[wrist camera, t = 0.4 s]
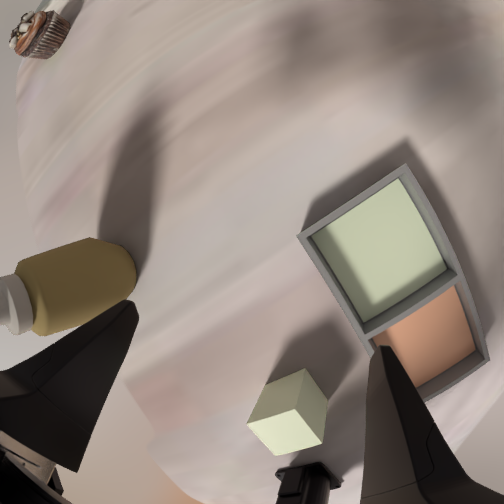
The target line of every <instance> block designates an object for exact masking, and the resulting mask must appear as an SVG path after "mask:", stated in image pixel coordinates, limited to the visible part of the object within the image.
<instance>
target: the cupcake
mask: <svg viewBox="0 0 504 504" xmlns="http://www.w3.org/2000/svg"><path fill="white" fill-rule="evenodd" d="M69 29H70V24H69V23H68V22H67V21H66V20H65V19H63V18H62V17H61V16H60V15H58V14H57V13H56V12H55V11H54V10H53V11H49V12H44V11H39V12H37V13H36V14H34V12H33V11H30V12H29V13H26V14H24V15H23V16H22V17H21V22H20V24H19V25H18V27H17V28H15V29H14V30H12V33H11V39H10V41H9V42H10V46H9V47H10V48H14V49H15V52H16V53H17V54H18V55H21V56H23V57H24V58H39V59H48V58H50V57H51V56H52V55H54V54H55V52H56V51H57V50H58V49H59V48H60V46H61V45H62V43H63V42H64V40H65V38H66V36H67V34H68V32H69Z"/></svg>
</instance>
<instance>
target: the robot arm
mask: <svg viewBox="0 0 504 504" xmlns="http://www.w3.org/2000/svg"><path fill="white" fill-rule="evenodd" d="M138 321H139V314H138V312H137V309H136V306H135V303H134V302H133V301H130V300H126V299H124V300H122V301H120V302H118V303H117V304H115V305H114V306H112V307H110V308H109V309H107V310H106V311H104V312H102V313H101V314H99V315H98V316H96V317H94V318H93V319H91V320H90V321H88V322H86V323H85V324H83V325H82V326H80V327H78V328H77V329H75V330H74V331H72V332H71V333H69V334H68V335H66V336H64V337H63V338H61V339H60V340H58V341H57V342H55V344H52V345H50V346H49V347H47V348H46V349H44V350H43V351H41V352H39V353H38V354H36V355H34V356H32V357H30V358H29V359H27V360H25V361H23V362H21V363H19V364H17V365H15V366H14V367H12V368H10V369H7V370H4V371H0V504H72V503H71V502H69V501H68V500H66V499H65V498H63V497H62V493H63V491H64V490H63V487H62V485H61V482H60V479H59V476H58V473H57V470H56V467H55V466H56V464H59V465H61V466H63V467H65V468H67V469H69V470H71V471H73V472H76V473H77V472H78V470H79V467H80V464H81V461H82V459H83V456H84V453H85V451H86V448H87V445H88V443H89V440H90V438H91V434H92V432H93V430H94V427H95V425H96V422H97V420H98V417H99V415H100V413H101V410H102V408H103V405H104V403H105V401H106V398H107V396H108V394H109V392H110V389H111V387H112V385H113V383H114V380H115V378H116V376H117V374H118V372H119V369H120V367H121V365H122V363H123V361H124V359H125V357H126V354H127V352H128V349H129V346H130V344H131V341H132V338H133V335H134V332H135V330H136V327H137V324H138ZM275 476H276V477H277V478H278V479H279V480H280V481H281V485H280V488H279V491H278V498H277V501H276V504H328V500H329V493H330V490H333V489H337V488H340V487H341V483H340V482H339V481H338V480H337V478H336V477H335V476H334V475H333V474H332V473H331V472H330V471H329V470H328V469H327V468H326V467H325V465H324V464H323V463H321V462H317V463H313V464H309V465H305V466H301V467H297V468H292V469H287V470H282V471H277V472H276V473H275ZM360 504H504V495H502V494H500V493H497V492H495V491H493V490H491V489H489V488H487V487H484V486H483V485H481V484H479V483H476V482H475V481H474V480H472V479H471V478H470V477H469V476H468V475H467V474H466V473H465V471H464V469H463V468H462V466H461V465H460V463H459V462H458V460H457V459H456V457H455V455H454V454H453V452H452V451H451V449H450V448H449V446H448V444H447V443H446V441H445V440H444V438H443V436H442V434H441V432H440V431H439V429H438V427H437V425H436V423H435V422H434V420H433V418H432V416H431V414H430V412H429V410H428V409H427V407H426V405H425V403H424V401H423V400H422V398H421V396H420V394H419V393H418V391H417V389H416V387H415V386H414V384H413V382H412V381H411V379H410V377H409V375H408V374H407V372H406V370H405V369H404V367H403V365H402V364H401V362H400V361H399V359H398V357H397V356H396V354H395V352H394V351H393V349H392V348H391V346H389V345H379V346H378V347H377V349H376V350H375V352H374V354H373V355H372V357H371V359H370V365H369V378H368V388H367V398H366V436H365V456H364V470H363V481H362V491H361V499H360Z"/></svg>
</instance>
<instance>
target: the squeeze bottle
mask: <svg viewBox="0 0 504 504" xmlns="http://www.w3.org/2000/svg"><path fill="white" fill-rule="evenodd" d="M135 284H136V269H135V265H134V261H133V260H132V258H131V256H130V254H129V253H128V251H126V250H125V249H124V248H123V247H122V246H120V245H116V244H112V243H109V242H105V241H102V240H98V239H94V238H90V237H89V238H86V239H83V240H80V241H76V242H73V243H70V244H67V245H64V246H61V247H58V248H55V249H52V250H49V251H46V252H43V253H40V254H37V255H34V256H31V257H29V258H26V259H23V260H22V261H20V262H18V265H17V267H16V270H15V273H14V274H11V275H7V276H4V277H0V325H6V326H7V328H8V330H9V331H10V332H11V333H12V334H13V335H20V334H22V333H25V332H27V331H29V330H32V331H33V332H35V333H36V334H37V335H39V336H47V335H51V334H54V333H57V332H60V331H64V330H67V329H70V328H73V327H76V326H79V325H83V324H85V323H86V322H88V321H90V320H91V319H93V318H94V317H96V316H98V315H99V314H101V313H102V312H104V311H106V310H107V309H109V308H110V307H112V306H114V305H115V304H117V303H118V302H120V301H122V300H124V299H127V297H128V296H129V295H130V294H131V293H132V292H133V289H134V287H135Z"/></svg>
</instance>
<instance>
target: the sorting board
mask: <svg viewBox="0 0 504 504" xmlns="http://www.w3.org/2000/svg"><path fill="white" fill-rule="evenodd" d="M297 238H298V240H299V241H300V243H301V244H302V246H303V247H304V249H305V250H306V252H307V254H308V255H309V257H310V258H311V260H312V261H313V263H314V265H315V266H316V268H317V269H318V271H319V272H320V274H321V276H322V277H323V279H324V280H325V282H326V284H327V285H328V287H329V289H330V290H331V292H332V293H333V295H334V297H335V298H336V300H337V302H338V303H339V305H340V307H341V308H342V310H343V312H344V313H345V315H346V317H347V318H348V320H349V322H350V323H351V325H352V327H353V329H354V330H355V332H356V334H357V335H358V337H359V339H360V341H361V342H362V344H363V346H364V348H365V349H366V351H367V353H368V355H369V356H370V358H371V357H372V355H373V354H374V352H375V350H376V349H377V347H378V346H379V345H389V346H391V348H392V349H393V351H394V352H395V354H396V356H397V357H398V359H399V361H400V362H401V364H402V365H403V367H404V369H405V370H406V372H407V374H408V375H409V377H410V379H411V381H412V382H413V384H414V386H415V387H416V389H417V391H418V393H419V394H420V396H421V398H422V400H423V401H424V402H426V401H428V400H430V399H432V398H433V397H435V396H437V395H439V394H440V393H442V392H444V391H445V390H447V389H449V388H450V387H452V386H453V385H455V384H457V383H458V382H460V381H461V380H463V379H464V378H466V377H467V376H469V375H470V374H472V373H473V372H474V371H476V370H477V369H479V368H480V367H481V366H483V365H484V364H486V363H487V362H488V361H490V357H489V353H488V349H487V345H486V341H485V337H484V333H483V329H482V326H481V323H480V319H479V316H478V313H477V310H476V306H475V303H474V300H473V298H472V295H471V292H470V289H469V286H468V284H467V281H466V279H465V276H464V273H463V271H462V268H461V266H460V264H459V261H458V259H457V257H456V254H455V252H454V250H453V248H452V245H451V243H450V241H449V239H448V237H447V235H446V233H445V231H444V229H443V227H442V225H441V223H440V221H439V219H438V217H437V215H436V213H435V211H434V209H433V207H432V206H431V204H430V202H429V200H428V198H427V197H426V195H425V193H424V192H423V190H422V188H421V186H420V185H419V183H418V181H417V180H416V178H415V177H414V175H413V173H412V172H411V170H410V169H409V167H408V166H407V164H406V163H405V164H403V165H402V166H400V167H398V168H397V169H395V170H394V171H392V172H391V173H390V174H388V175H387V176H385V177H384V178H382V179H381V180H379V181H378V182H376V183H375V184H373V185H372V186H370V187H369V188H367V189H366V190H364V191H363V192H361V193H360V194H358V195H357V196H355V197H354V198H352V199H351V200H349V201H348V202H346V203H345V204H343V205H342V206H340V207H339V208H337V209H336V210H334V211H333V212H331V213H330V214H328V215H327V216H325V217H324V218H322V219H321V220H319V221H318V222H316V223H315V224H313V225H311V226H310V227H308V228H307V229H305V230H304V231H302V232H301V233H299V234H298V235H297Z"/></svg>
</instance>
